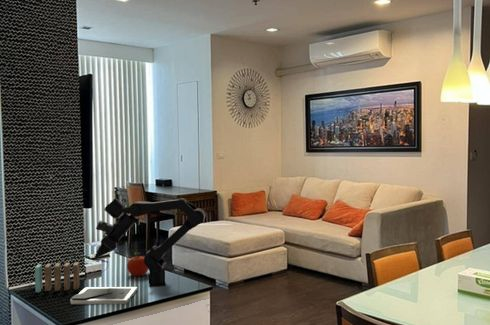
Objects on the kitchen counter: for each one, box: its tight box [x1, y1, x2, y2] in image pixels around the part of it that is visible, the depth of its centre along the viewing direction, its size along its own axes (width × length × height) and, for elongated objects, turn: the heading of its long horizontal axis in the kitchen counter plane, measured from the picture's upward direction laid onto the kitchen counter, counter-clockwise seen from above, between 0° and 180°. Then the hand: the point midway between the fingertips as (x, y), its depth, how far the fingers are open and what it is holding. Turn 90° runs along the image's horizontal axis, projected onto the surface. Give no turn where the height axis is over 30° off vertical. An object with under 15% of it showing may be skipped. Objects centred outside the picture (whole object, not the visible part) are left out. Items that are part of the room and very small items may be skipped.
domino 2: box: [44, 263, 53, 293], centre depth 190 cm, size 2×5×10 cm, turn 12°
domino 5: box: [72, 261, 81, 291], centre depth 192 cm, size 2×5×10 cm, turn 12°
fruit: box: [126, 251, 149, 277], centre depth 210 cm, size 10×10×10 cm
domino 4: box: [63, 262, 71, 291], centre depth 191 cm, size 2×5×10 cm, turn 12°
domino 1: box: [34, 263, 43, 293], centre depth 189 cm, size 2×5×10 cm, turn 12°
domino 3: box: [53, 262, 62, 292], centre depth 191 cm, size 2×5×10 cm, turn 12°
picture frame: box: [70, 286, 138, 305], centre depth 180 cm, size 16×3×21 cm
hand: (96, 255), depth 193 cm, fingers open, 8 cm apart
